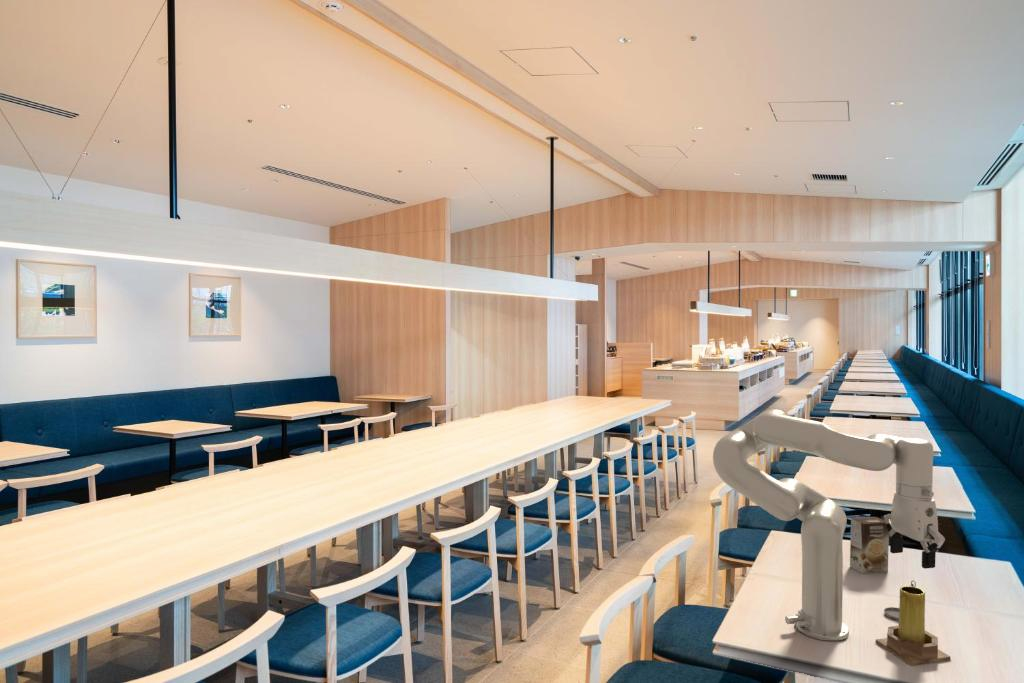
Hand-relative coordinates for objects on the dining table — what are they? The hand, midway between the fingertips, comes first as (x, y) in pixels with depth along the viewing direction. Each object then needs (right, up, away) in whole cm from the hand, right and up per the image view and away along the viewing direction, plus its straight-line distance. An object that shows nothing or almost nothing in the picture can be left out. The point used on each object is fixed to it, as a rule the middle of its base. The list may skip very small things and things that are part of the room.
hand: (911, 559), depth 160 cm
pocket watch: (+9, -22, +18) cm, 30 cm away
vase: (0, -22, +1) cm, 22 cm away
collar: (0, -22, +1) cm, 22 cm away
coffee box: (+17, -20, +51) cm, 57 cm away
